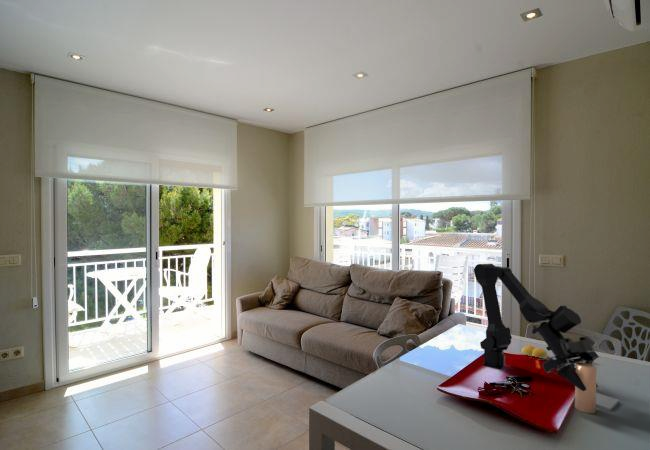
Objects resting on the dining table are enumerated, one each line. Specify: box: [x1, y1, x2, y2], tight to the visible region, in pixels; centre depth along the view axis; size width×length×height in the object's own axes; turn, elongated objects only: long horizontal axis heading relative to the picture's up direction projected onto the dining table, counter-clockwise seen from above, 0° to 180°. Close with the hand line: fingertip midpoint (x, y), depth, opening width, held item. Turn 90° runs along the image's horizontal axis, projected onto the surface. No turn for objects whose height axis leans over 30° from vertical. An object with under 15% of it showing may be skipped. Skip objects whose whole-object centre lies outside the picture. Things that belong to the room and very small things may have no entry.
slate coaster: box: [596, 392, 620, 412], centre depth 111 cm, size 9×9×1 cm
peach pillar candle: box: [574, 362, 598, 414], centre depth 106 cm, size 5×5×13 cm
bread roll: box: [521, 344, 548, 360], centre depth 148 cm, size 8×9×4 cm
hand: (590, 389), depth 104 cm, fingers closed on peach pillar candle, 5 cm apart
